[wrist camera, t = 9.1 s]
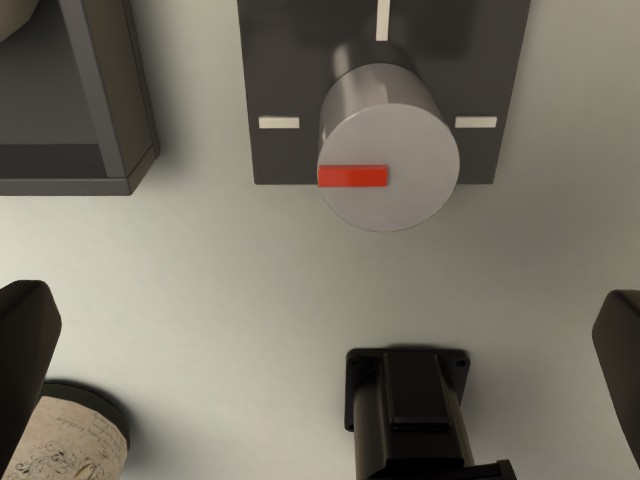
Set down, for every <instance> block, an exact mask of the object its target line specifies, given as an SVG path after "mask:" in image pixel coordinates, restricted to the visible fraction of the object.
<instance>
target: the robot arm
mask: <svg viewBox="0 0 640 480" xmlns="http://www.w3.org/2000/svg"><path fill="white" fill-rule="evenodd" d="M61 327H62V322H61V316H60V314H59V311H58V309H57V306H56V304H55V301H54V298H53V296H52V293H51V291H50V288H49V286H48V285H47V284H46V283H45V282H44V281H41V280H17V281H14V282H12V283H10V284H9V285H7V286H5V287H3V288H1V289H0V480H1V479H2V477H3V475H4V473H5V471H6V469H7V467H8V465H9V463H10V460H11V458H12V456H13V454H14V452H15V450H16V448H17V446H18V444H19V442H20V439H21V437H22V435H23V433H24V431H25V429H26V426H27V424H28V422H29V420H30V417H31V415H32V412H33V410H34V407H35V404H36V402H37V399H38V396H39V393H40V390H41V387H42V385H43V382H44V379H45V376H46V373H47V370H48V367H49V364H50V362H51V359H52V356H53V353H54V350H55V347H56V344H57V341H58V339H59V336H60V332H61ZM592 339H593V343H594V346H595V349H596V352H597V356H598V359H599V362H600V365H601V368H602V371H603V374H604V377H605V380H606V383H607V386H608V389H609V392H610V396H611V399H612V402H613V405H614V408H615V411H616V414H617V417H618V419H619V422H620V425H621V428H622V430H623V433H624V435H625V437H626V440H627V442H628V444H629V447H630V449H631V451H632V453H633V456H634V458H635V460H636V462H637V464H638V467H639V469H640V291H639V290H613V291H611V292H610V293H609V294H608V295H607V296H606V298H605V301H604V303H603V305H602V307H601V310H600V312H599V314H598V316H597V319H596V321H595V323H594V326H593V330H592ZM354 359H358V360H354ZM458 360H461V361H458ZM469 366H470V359H469V356H468V354H467V353H466V352H464V351H389V350H354V351H351V352H349V353H348V354H347V356H346V383H345V418H344V424H345V429H346V430H347V431H349V432H354V438H355V460H356V480H517V478H516V476H515V473H514V471H513V468H512V466H511V463H510V461H509V459H506V460H498V461H497V463H492V464H483V465H475V463H474V459H473V455H472V452H471V448H470V444H469V440H468V436H467V432H466V428H465V424H464V421H463V417H462V413H461V409H460V405H461V401H462V397H463V392H464V388H465V384H466V379H467V375H468V371H469Z"/></svg>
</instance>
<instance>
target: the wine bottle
mask: <svg viewBox="0 0 640 480" xmlns="http://www.w3.org/2000/svg"><path fill="white" fill-rule="evenodd" d="M129 448H130V437H129V428H128V425H127V423H126V422H125V420H124V419H123V418H122V416H121V415H120V413H119V412H118V410H117V409H115V408H114V407H113V406H111V405H110V404H109V403H108V402H106V401H105V400H104V399H102V398H101V397H99V396H97V395H94V394H92V393H90V392H87V391H85V390H83V389H80V388H75V387H71V386H66V385H61V384H43V385H42V387H41V390H40V393H39V396H38V399H37V402H36V404H35V407H34V410H33V412H32V415H31V417H30V420H29V422H28V424H27V426H26V429H25V431H24V433H23V435H22V437H21V439H20V442H19V444H18V446H17V448H16V450H15V452H14V454H13V456H12V458H11V460H10V463H9V465H8V467H7V469H6V471H5V473H4V475H3V477H2V479H1V480H119V477H120V474H121V471H122V469H123V466H124V463H125V460H126V457H127V455H128V451H129Z"/></svg>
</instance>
